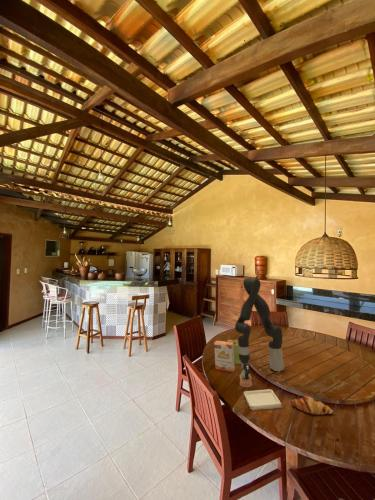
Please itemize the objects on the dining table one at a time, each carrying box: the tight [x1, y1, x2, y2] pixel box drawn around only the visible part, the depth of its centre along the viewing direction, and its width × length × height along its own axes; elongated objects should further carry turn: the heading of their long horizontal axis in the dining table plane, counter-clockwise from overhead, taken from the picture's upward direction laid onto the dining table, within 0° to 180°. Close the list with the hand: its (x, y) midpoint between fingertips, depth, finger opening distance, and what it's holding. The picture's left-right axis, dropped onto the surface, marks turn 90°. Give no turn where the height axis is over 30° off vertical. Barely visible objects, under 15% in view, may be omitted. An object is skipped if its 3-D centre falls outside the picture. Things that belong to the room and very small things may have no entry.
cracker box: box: [213, 340, 236, 373], centre depth 178 cm, size 14×6×21 cm, turn 65°
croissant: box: [290, 395, 334, 416], centre depth 129 cm, size 21×10×8 cm, turn 67°
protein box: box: [227, 339, 241, 365], centre depth 190 cm, size 10×15×16 cm
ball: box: [240, 369, 249, 378], centre depth 157 cm, size 6×6×6 cm
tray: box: [243, 388, 283, 411], centre depth 138 cm, size 18×14×2 cm
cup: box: [239, 374, 253, 388], centre depth 157 cm, size 8×8×5 cm
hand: (245, 376), depth 157 cm, fingers closed on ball, 5 cm apart
